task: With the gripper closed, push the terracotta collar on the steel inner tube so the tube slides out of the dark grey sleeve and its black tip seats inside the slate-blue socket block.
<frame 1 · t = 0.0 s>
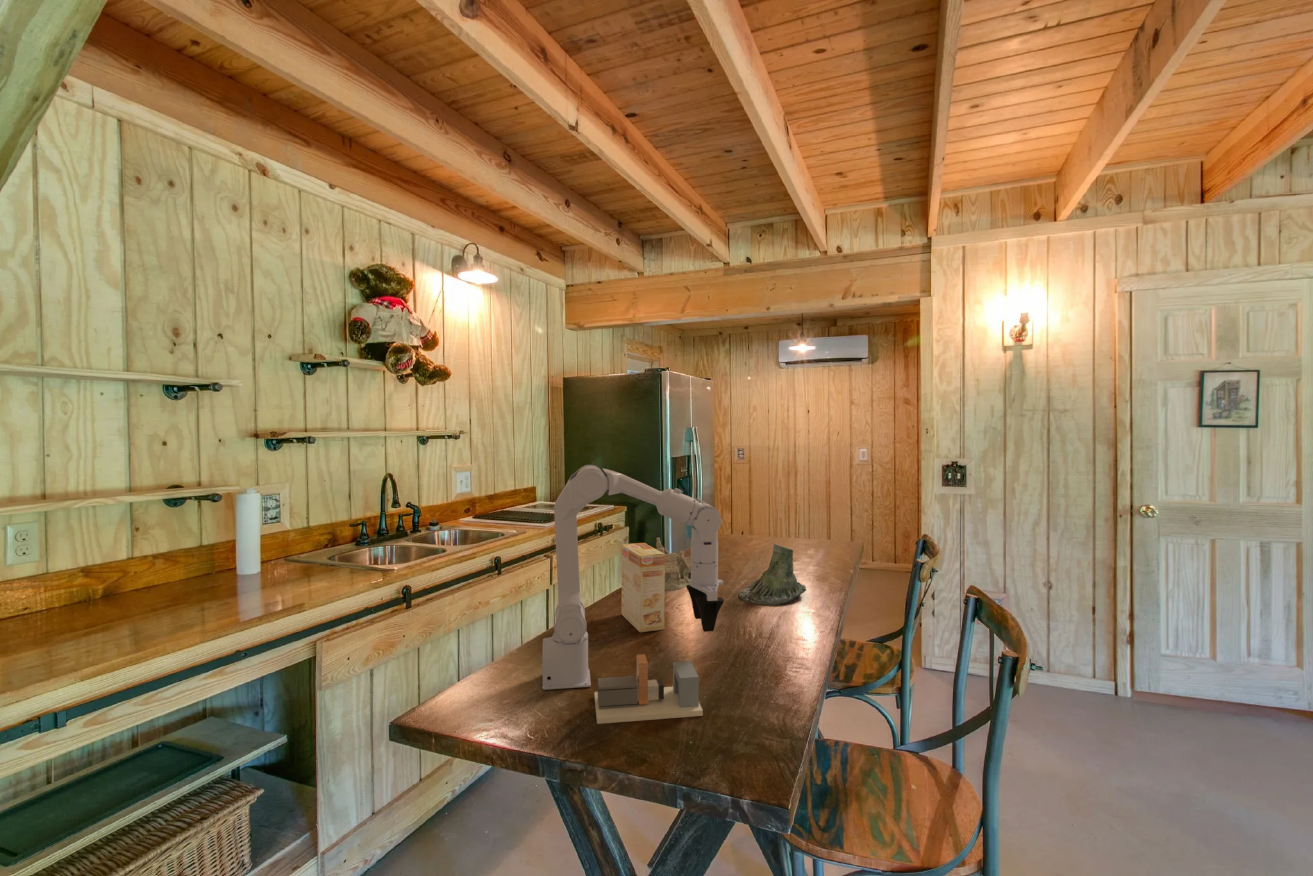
hand: (703, 624, 123), 10 cm above the table, tool pointing down, fingers open, 7 cm apart
socket block: (685, 698, 110), resting on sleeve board
coffeecake box: (642, 622, 154), on the table
ceramic cottage: (673, 584, 190), on the table
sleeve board: (646, 706, 109), on the table
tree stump: (771, 596, 177), on the table
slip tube: (632, 679, 108), point 5 cm above the table, slide at 0.0 cm
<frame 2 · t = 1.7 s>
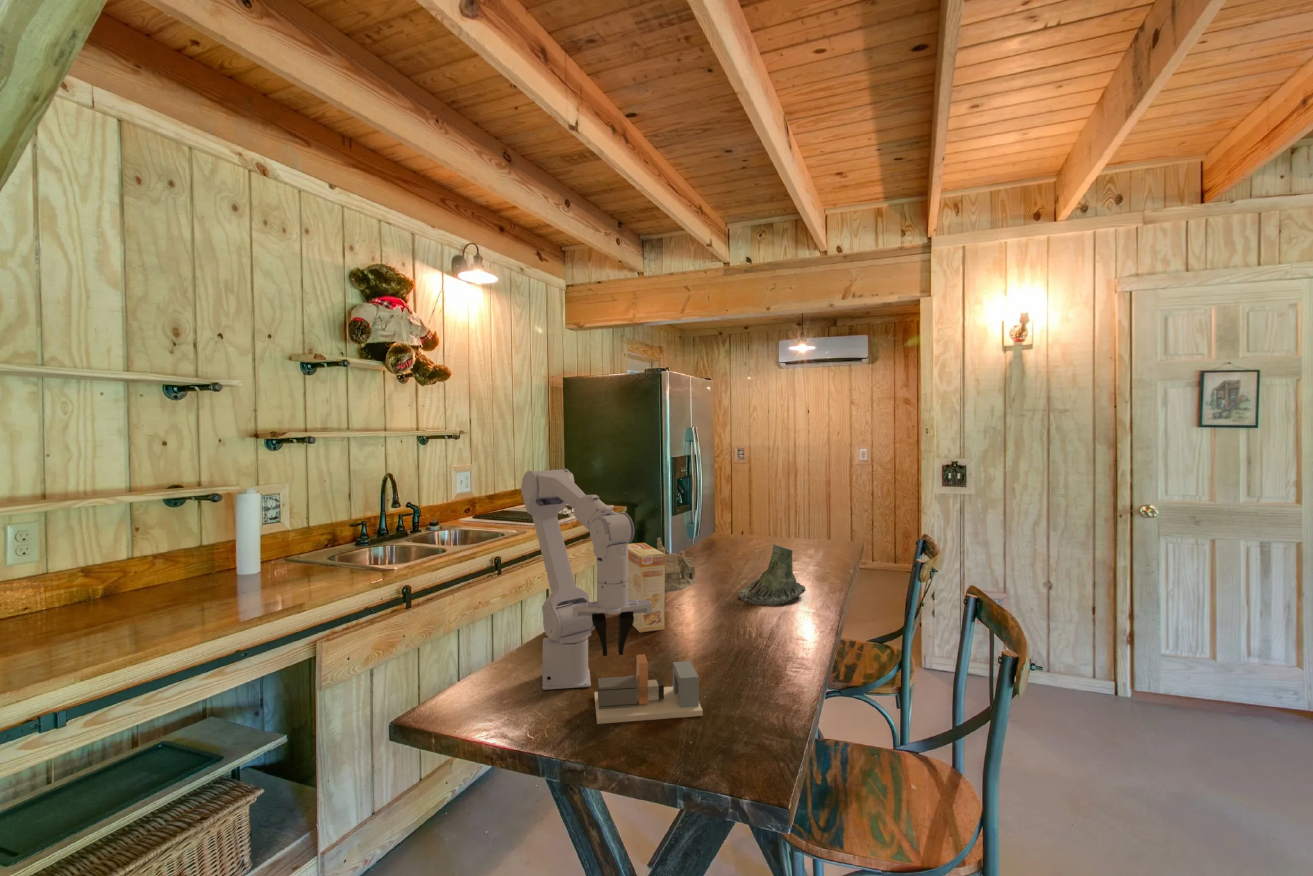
hand: (612, 653, 107), 10 cm above the table, tool pointing down, fingers closed
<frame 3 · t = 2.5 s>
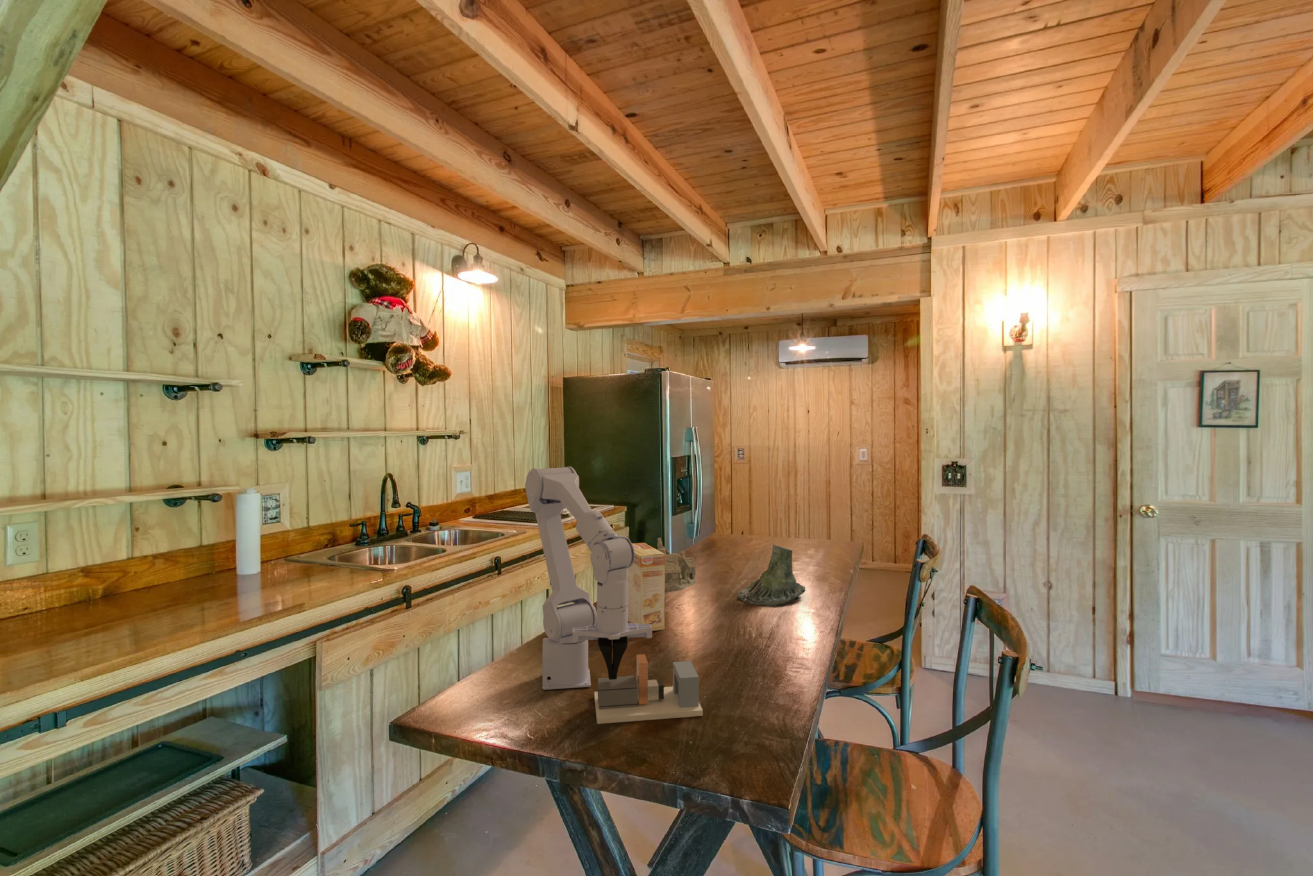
hand: (612, 677, 108), 6 cm above the table, tool pointing down, fingers closed
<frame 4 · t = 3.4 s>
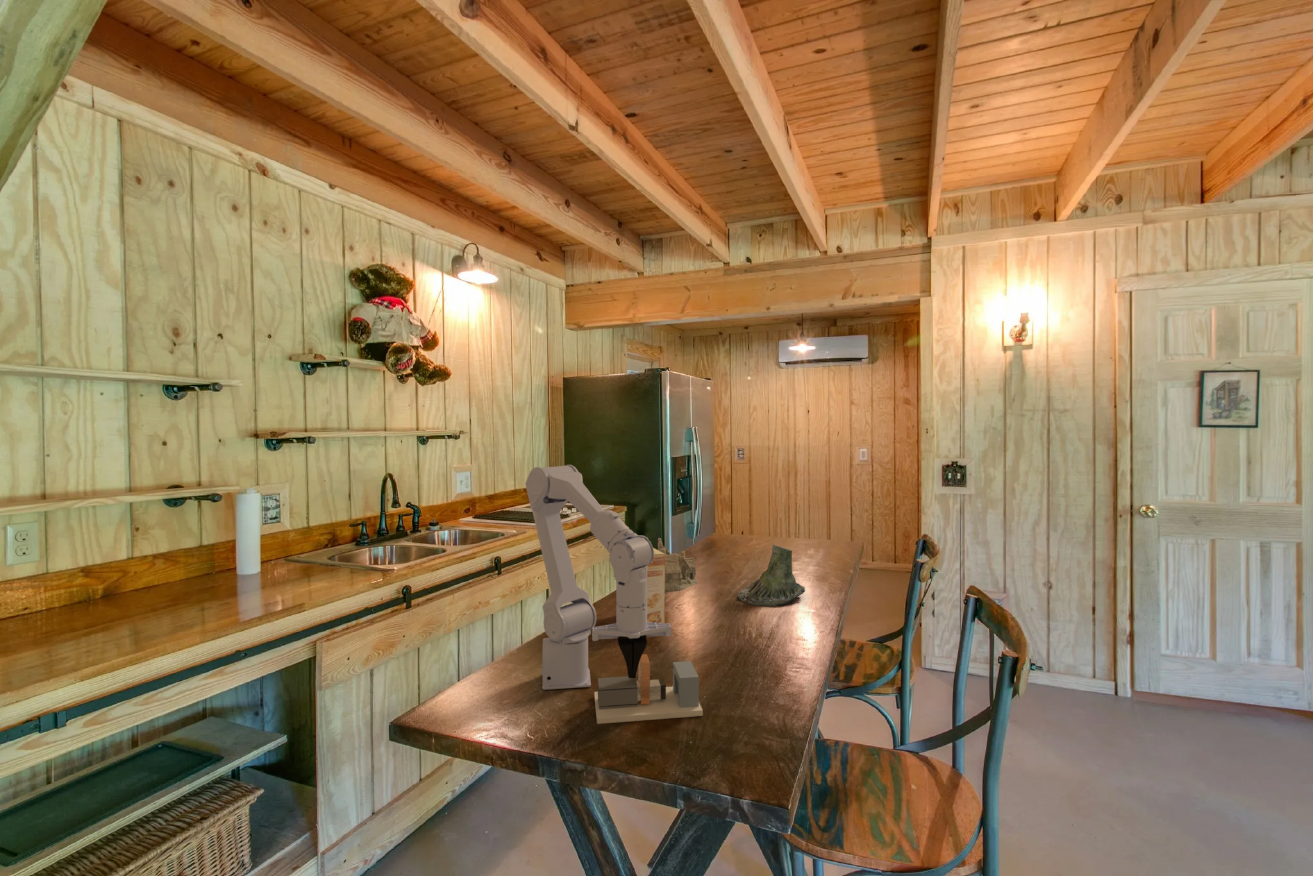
hand: (631, 675, 108), 6 cm above the table, tool pointing down, fingers closed
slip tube: (634, 679, 108), point 5 cm above the table, slide at 0.4 cm, touching gripper
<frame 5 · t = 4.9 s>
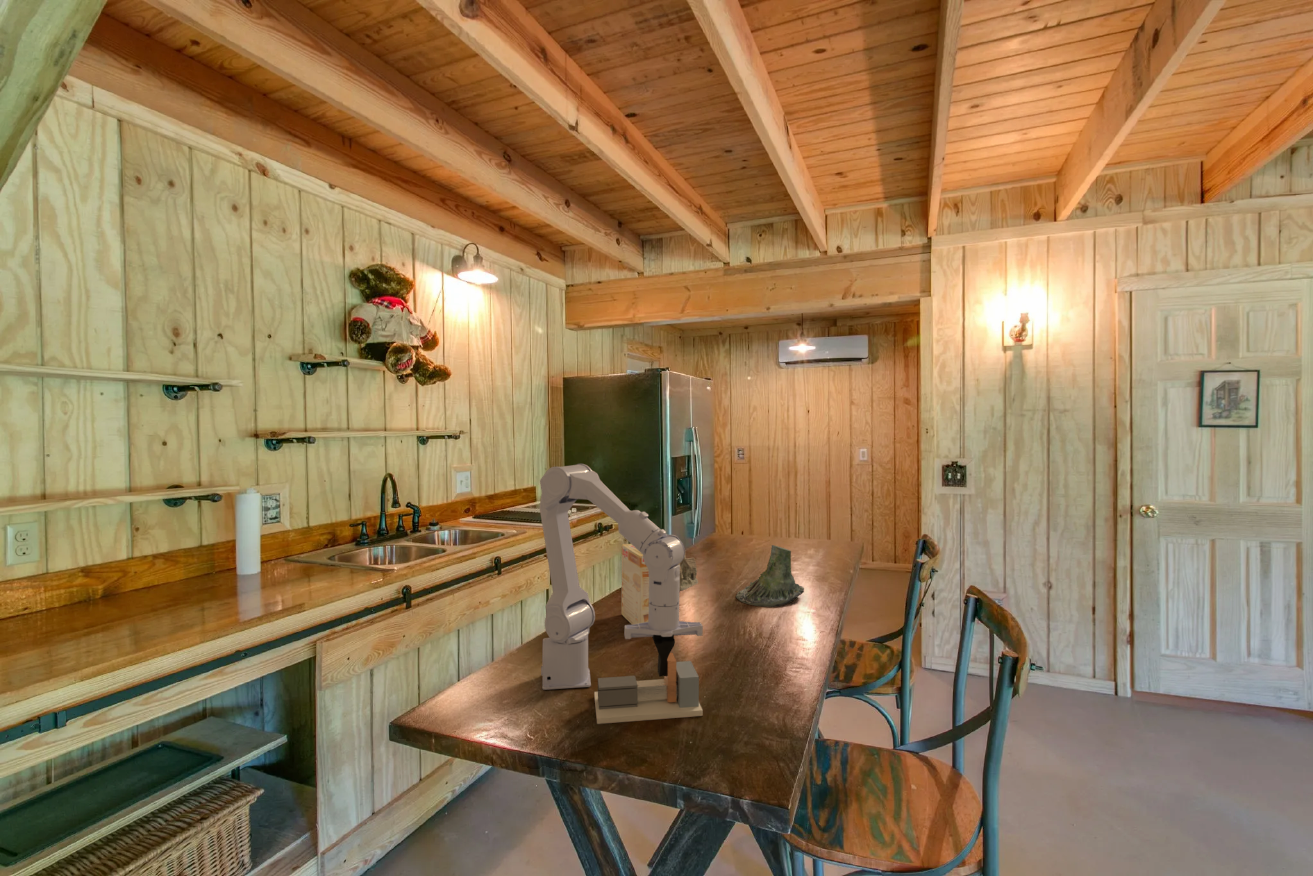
hand: (663, 674, 109), 6 cm above the table, tool pointing down, fingers closed, pressing on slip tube
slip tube: (660, 677, 109), point 5 cm above the table, slide at 5.3 cm, touching gripper, socket block
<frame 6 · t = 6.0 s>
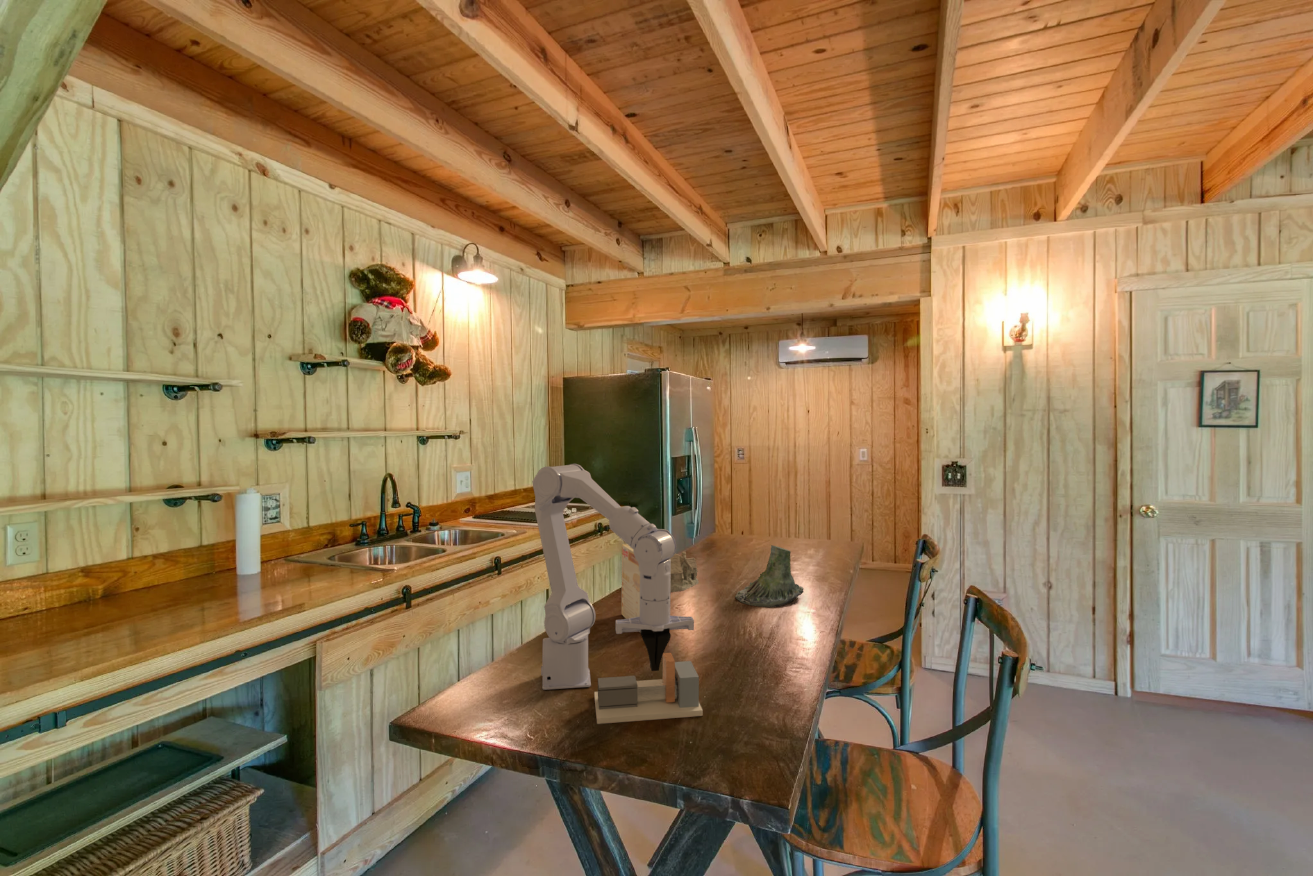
hand: (654, 668, 109), 7 cm above the table, tool pointing down, fingers closed
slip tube: (658, 677, 109), point 5 cm above the table, slide at 5.0 cm
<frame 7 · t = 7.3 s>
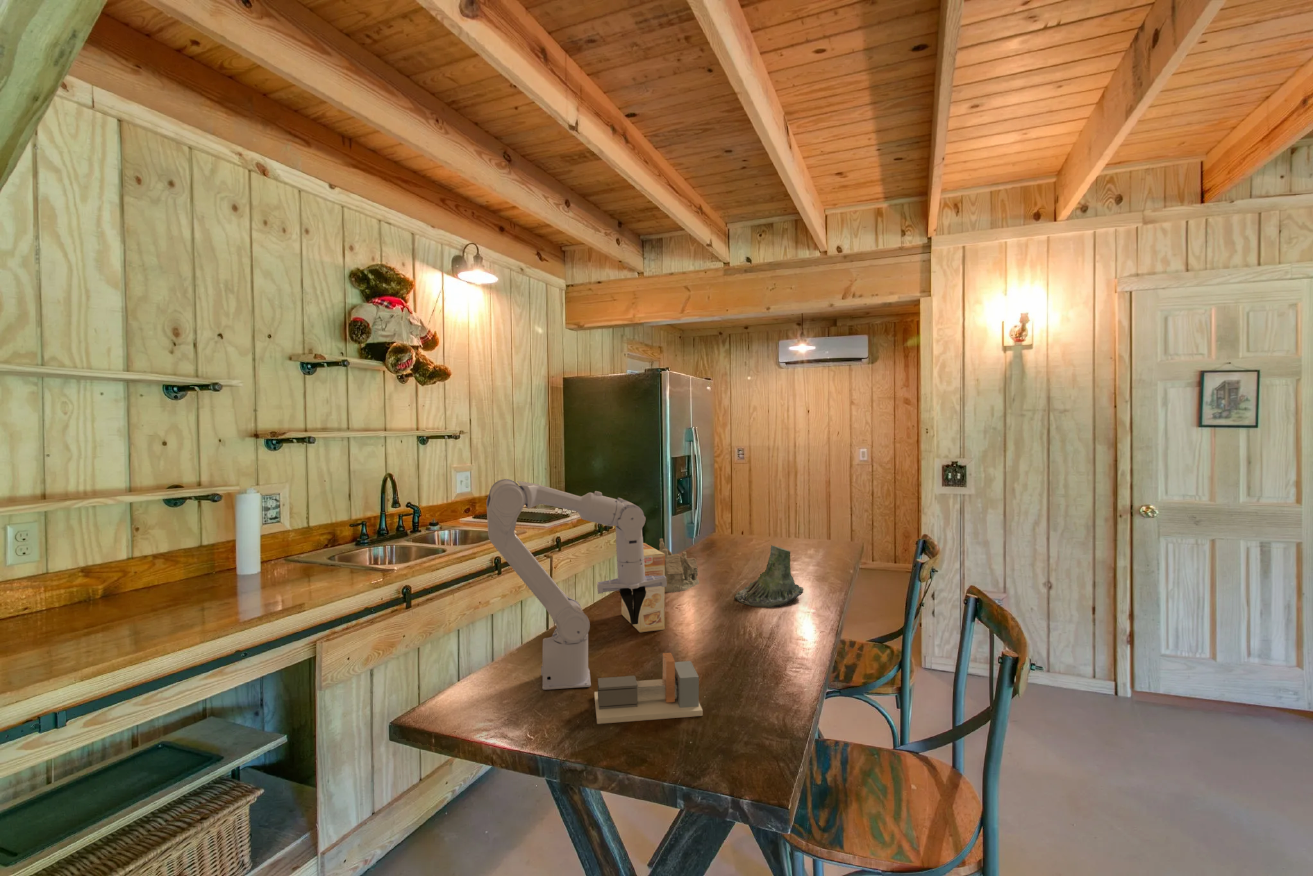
hand: (634, 622, 123), 10 cm above the table, tool pointing down, fingers closed
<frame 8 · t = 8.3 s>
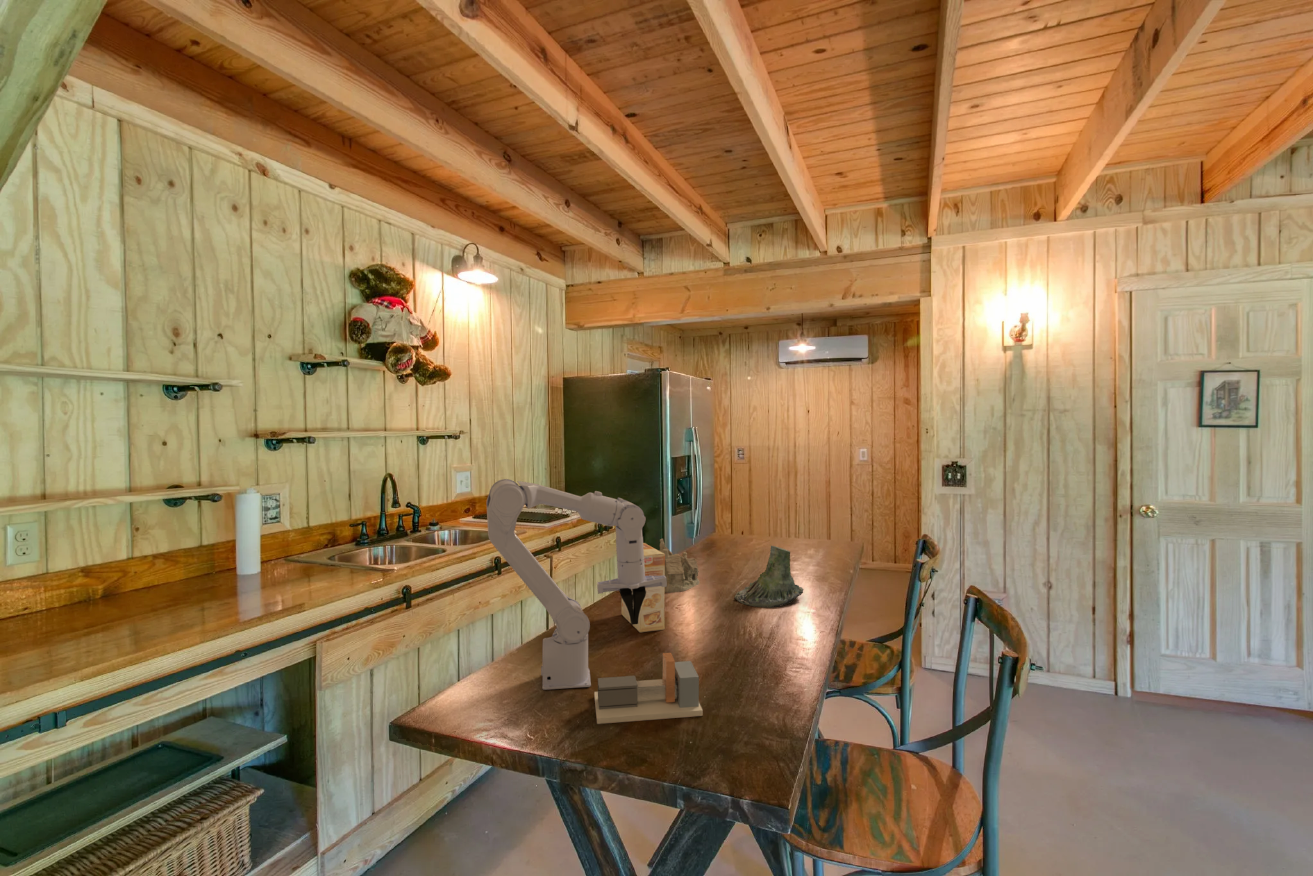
hand: (634, 622, 123), 10 cm above the table, tool pointing down, fingers closed
at the end: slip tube slide at 5.0 cm; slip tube 0.0 cm from the target spot, resting on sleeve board; the gripper is holding nothing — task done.
